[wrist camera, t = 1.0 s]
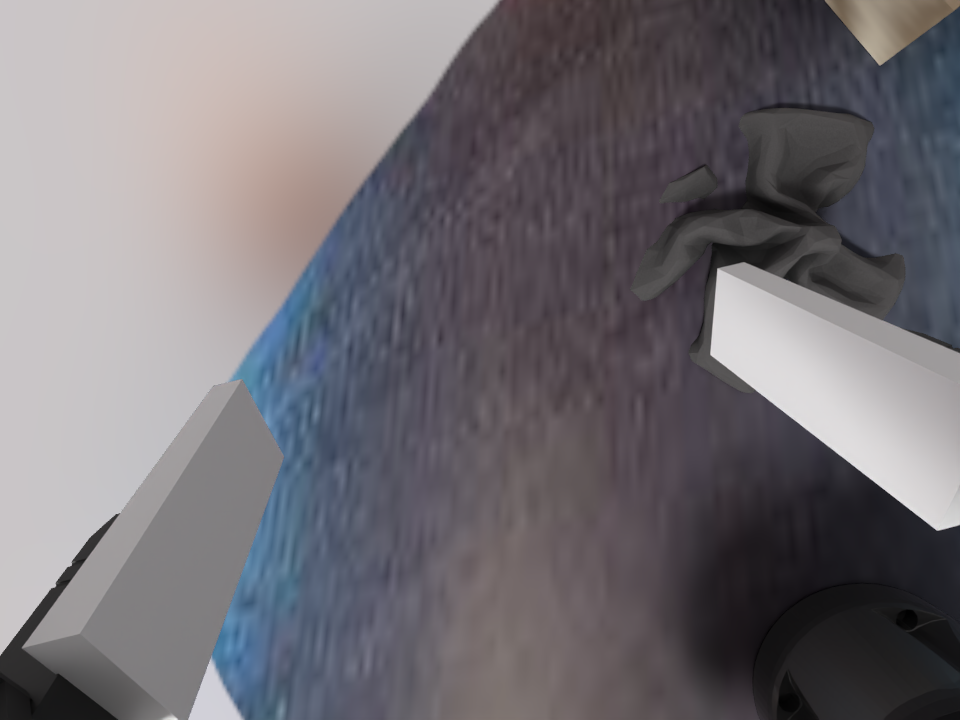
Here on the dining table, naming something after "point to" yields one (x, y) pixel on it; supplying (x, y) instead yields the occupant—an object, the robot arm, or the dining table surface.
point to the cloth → (777, 221)
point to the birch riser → (890, 22)
